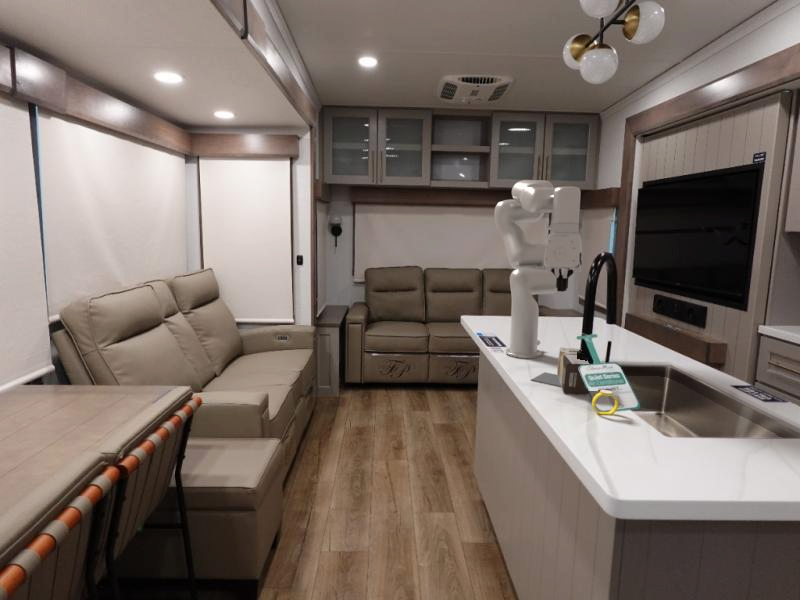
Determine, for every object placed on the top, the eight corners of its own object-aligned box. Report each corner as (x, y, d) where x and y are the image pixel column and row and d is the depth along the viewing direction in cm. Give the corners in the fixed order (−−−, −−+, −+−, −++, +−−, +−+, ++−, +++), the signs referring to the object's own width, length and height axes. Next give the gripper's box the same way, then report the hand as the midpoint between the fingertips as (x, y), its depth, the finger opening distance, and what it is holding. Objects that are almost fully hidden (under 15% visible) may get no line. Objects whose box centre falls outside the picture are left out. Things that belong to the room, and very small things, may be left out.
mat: (544, 373, 157) (544, 372, 157) (576, 379, 151) (576, 378, 151) (530, 380, 150) (530, 379, 150) (562, 387, 144) (562, 386, 143)
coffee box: (559, 347, 152) (566, 361, 136) (580, 348, 151) (590, 363, 135) (556, 375, 153) (563, 393, 138) (578, 377, 152) (587, 395, 137)
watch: (613, 413, 125) (617, 390, 124) (617, 417, 122) (621, 394, 121) (589, 411, 125) (592, 388, 124) (593, 415, 122) (596, 392, 121)
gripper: (535, 229, 148) (533, 290, 151) (585, 229, 139) (581, 294, 141) (546, 229, 154) (543, 287, 157) (595, 229, 144) (591, 292, 147)
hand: (561, 290), depth 149 cm, fingers closed
